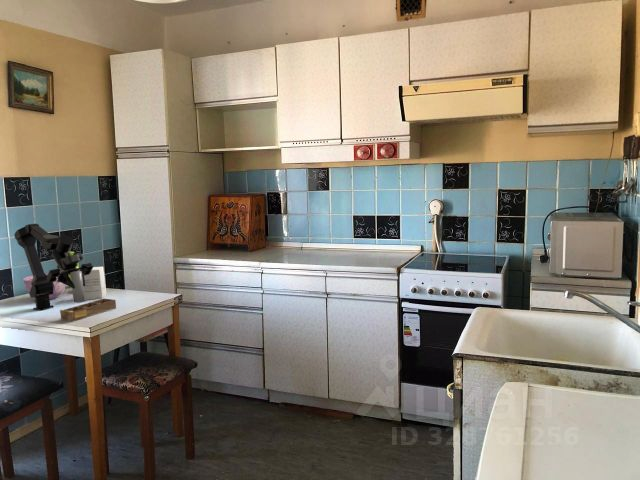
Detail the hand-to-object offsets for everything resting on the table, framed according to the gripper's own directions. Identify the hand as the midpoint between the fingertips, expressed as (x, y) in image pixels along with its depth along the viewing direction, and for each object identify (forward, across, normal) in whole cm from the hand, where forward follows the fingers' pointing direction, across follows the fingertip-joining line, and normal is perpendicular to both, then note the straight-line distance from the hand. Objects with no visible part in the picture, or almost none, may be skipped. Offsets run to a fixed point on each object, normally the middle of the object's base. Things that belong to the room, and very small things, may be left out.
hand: (79, 286), depth 223 cm
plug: (+4, 0, +6) cm, 7 cm away
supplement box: (-12, +24, +32) cm, 42 cm away
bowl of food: (-28, +12, +48) cm, 57 cm away
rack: (+8, +5, +11) cm, 14 cm away
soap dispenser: (-38, +34, +58) cm, 78 cm away
